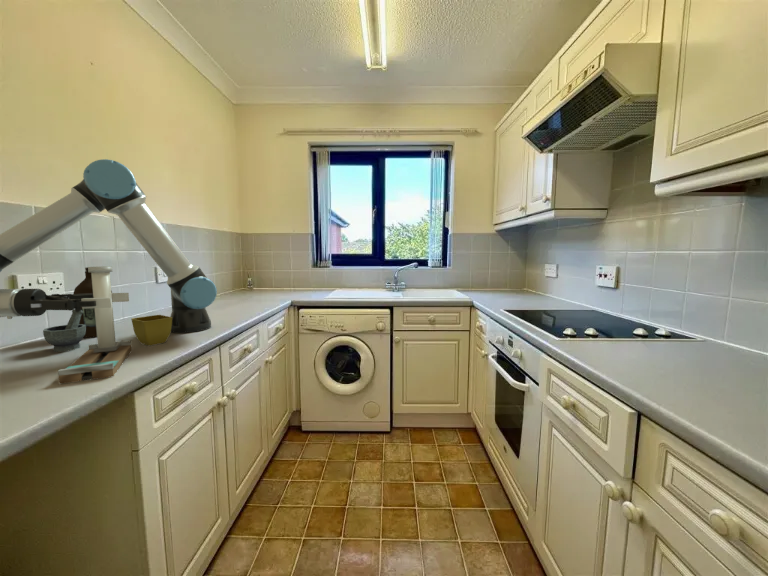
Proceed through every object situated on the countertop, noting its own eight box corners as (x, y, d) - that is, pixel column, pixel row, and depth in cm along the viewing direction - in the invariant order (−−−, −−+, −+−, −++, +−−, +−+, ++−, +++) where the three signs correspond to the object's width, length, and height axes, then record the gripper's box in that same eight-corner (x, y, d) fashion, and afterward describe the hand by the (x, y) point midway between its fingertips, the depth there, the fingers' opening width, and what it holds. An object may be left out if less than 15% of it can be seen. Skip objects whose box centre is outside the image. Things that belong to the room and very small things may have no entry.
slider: (120, 345, 99) (113, 266, 96) (116, 350, 94) (109, 267, 91) (98, 348, 96) (91, 266, 93) (93, 353, 92) (85, 267, 89)
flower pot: (161, 338, 115) (159, 314, 114) (174, 342, 111) (172, 316, 110) (132, 344, 108) (130, 318, 107) (145, 349, 103) (143, 321, 102)
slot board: (132, 350, 102) (131, 340, 101) (113, 376, 81) (112, 364, 80) (90, 354, 97) (89, 344, 96) (59, 383, 76) (57, 370, 76)
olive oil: (76, 334, 120) (69, 267, 117) (113, 329, 127) (108, 266, 124) (78, 340, 112) (71, 268, 109) (117, 334, 120) (111, 267, 117)
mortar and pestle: (68, 353, 98) (64, 314, 97) (36, 353, 97) (31, 314, 96) (98, 342, 109) (95, 308, 108) (69, 343, 109) (66, 308, 107)
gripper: (50, 308, 99) (136, 305, 106) (-12, 325, 77) (102, 320, 84) (48, 284, 98) (134, 283, 105) (-16, 294, 76) (99, 291, 84)
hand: (120, 299), depth 95 cm, fingers open, 10 cm apart
